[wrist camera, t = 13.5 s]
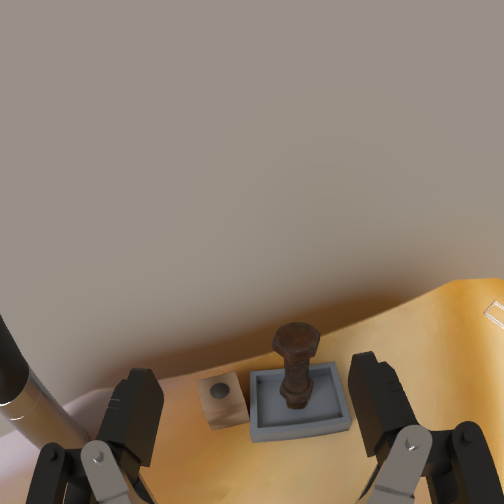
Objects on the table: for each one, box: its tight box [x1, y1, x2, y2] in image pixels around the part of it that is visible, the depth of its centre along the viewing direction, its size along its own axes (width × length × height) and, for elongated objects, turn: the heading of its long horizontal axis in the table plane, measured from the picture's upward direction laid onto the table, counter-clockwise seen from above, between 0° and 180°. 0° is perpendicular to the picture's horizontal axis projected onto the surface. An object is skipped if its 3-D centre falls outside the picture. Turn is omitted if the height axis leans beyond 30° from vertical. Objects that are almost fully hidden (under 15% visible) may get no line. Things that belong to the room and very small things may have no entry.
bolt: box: [272, 322, 320, 410], centre depth 35 cm, size 6×5×15 cm
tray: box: [250, 362, 352, 443], centre depth 38 cm, size 14×12×3 cm
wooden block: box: [197, 372, 250, 431], centre depth 37 cm, size 6×6×6 cm
